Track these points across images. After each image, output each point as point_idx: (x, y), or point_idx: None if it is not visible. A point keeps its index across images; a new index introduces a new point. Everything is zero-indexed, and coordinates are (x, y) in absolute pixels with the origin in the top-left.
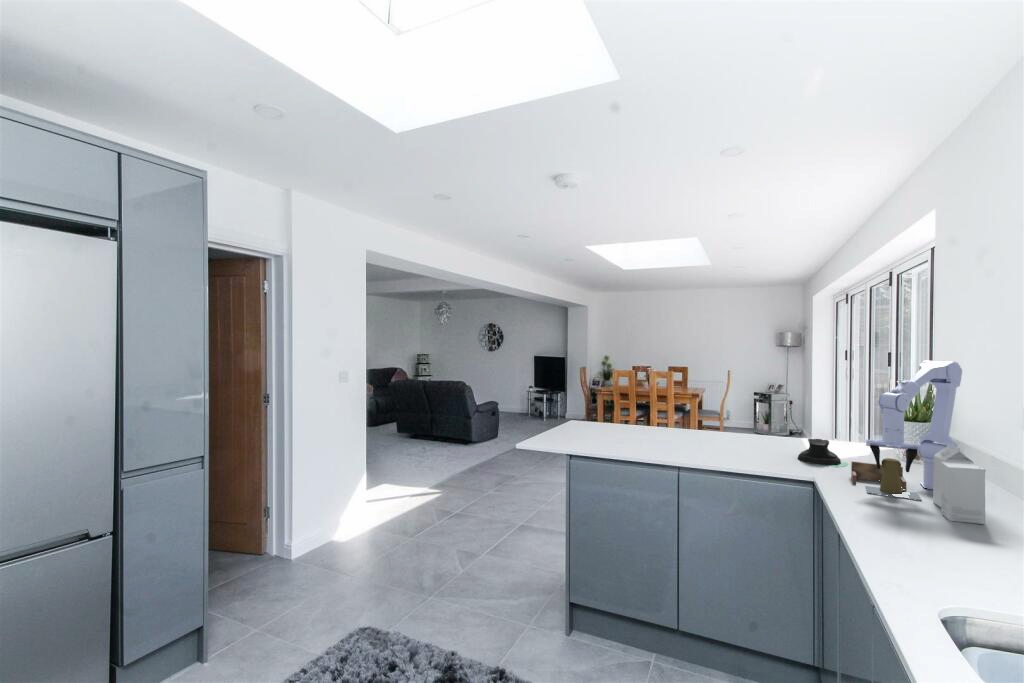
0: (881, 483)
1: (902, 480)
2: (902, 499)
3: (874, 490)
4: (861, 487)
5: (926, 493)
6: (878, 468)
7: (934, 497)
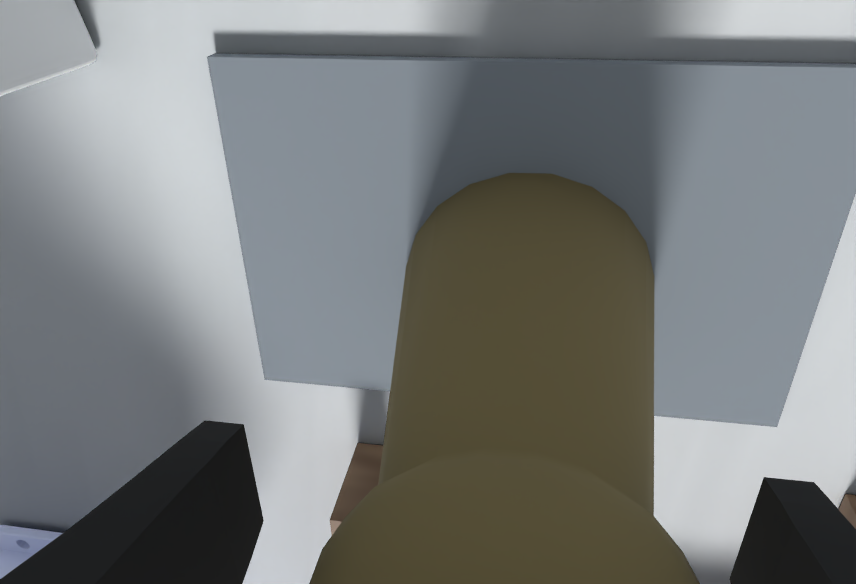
0: (653, 330)
1: None
2: (431, 3)
3: (733, 248)
4: (837, 379)
5: None
6: (802, 486)
7: (29, 31)
